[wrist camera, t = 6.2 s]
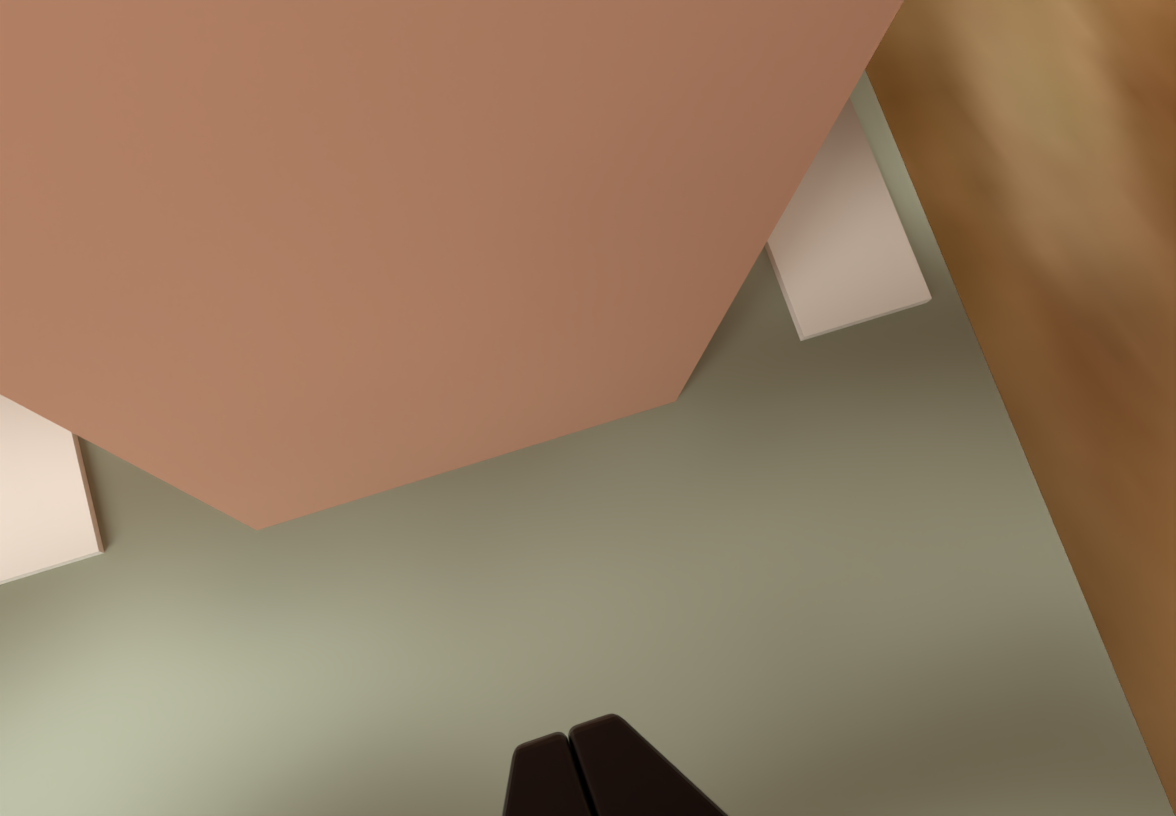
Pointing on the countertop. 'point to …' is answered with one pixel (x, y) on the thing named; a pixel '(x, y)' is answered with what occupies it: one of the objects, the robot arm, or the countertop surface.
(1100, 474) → the countertop surface
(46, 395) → the terracotta block
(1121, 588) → the countertop surface
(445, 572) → the trap board
